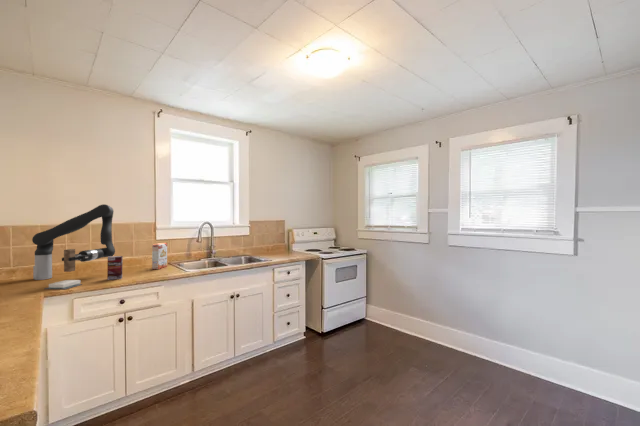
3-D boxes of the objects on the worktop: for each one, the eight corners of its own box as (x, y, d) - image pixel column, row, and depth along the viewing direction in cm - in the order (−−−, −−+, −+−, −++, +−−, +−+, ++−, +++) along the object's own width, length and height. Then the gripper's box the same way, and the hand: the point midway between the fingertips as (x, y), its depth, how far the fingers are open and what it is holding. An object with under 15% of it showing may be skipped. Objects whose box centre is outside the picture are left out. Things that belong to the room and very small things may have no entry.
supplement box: (107, 280, 211) (107, 257, 211) (108, 278, 215) (108, 256, 215) (121, 278, 215) (121, 256, 215) (122, 277, 219) (122, 255, 219)
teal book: (66, 283, 199) (48, 288, 187) (66, 279, 199) (48, 284, 187) (80, 283, 198) (63, 288, 186) (80, 280, 198) (63, 284, 186)
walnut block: (64, 271, 194) (63, 249, 194) (69, 270, 198) (69, 249, 198) (69, 271, 194) (69, 249, 194) (75, 270, 198) (75, 249, 198)
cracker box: (158, 269, 250) (158, 244, 250) (151, 269, 250) (151, 244, 250) (167, 266, 264) (167, 242, 264) (160, 266, 264) (160, 242, 264)
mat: (44, 289, 186) (44, 288, 186) (62, 284, 198) (62, 283, 198) (65, 289, 185) (65, 288, 185) (82, 284, 197) (82, 284, 197)
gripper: (78, 250, 211) (55, 253, 194) (97, 250, 210) (75, 253, 192) (78, 260, 211) (55, 265, 194) (97, 260, 210) (76, 265, 192)
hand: (65, 259), depth 193 cm, fingers closed on walnut block, 4 cm apart
